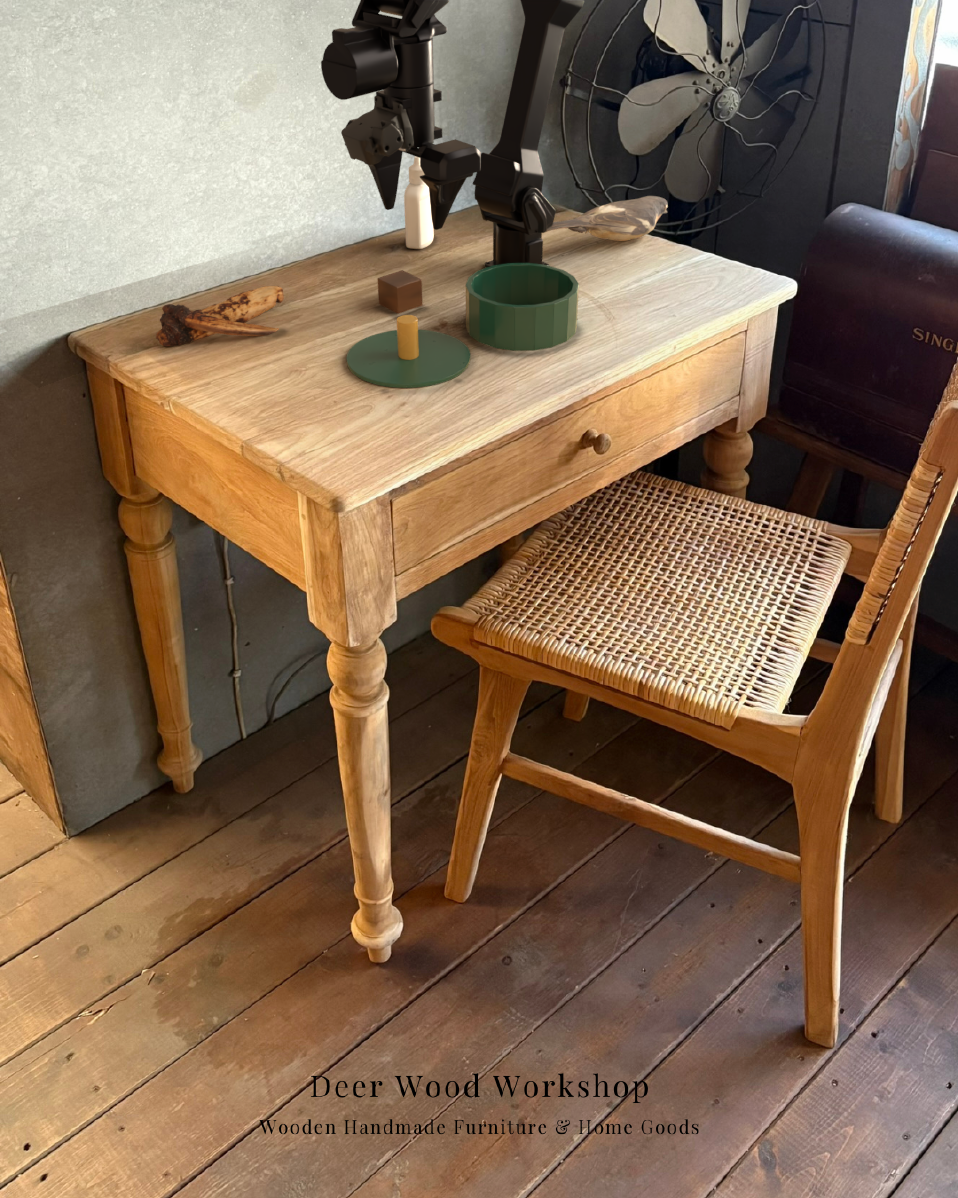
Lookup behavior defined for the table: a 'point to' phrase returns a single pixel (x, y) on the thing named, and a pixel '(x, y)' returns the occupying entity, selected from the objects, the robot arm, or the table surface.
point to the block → (400, 291)
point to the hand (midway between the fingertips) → (413, 218)
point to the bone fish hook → (219, 317)
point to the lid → (408, 356)
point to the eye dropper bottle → (417, 210)
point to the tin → (521, 306)
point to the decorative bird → (618, 219)
